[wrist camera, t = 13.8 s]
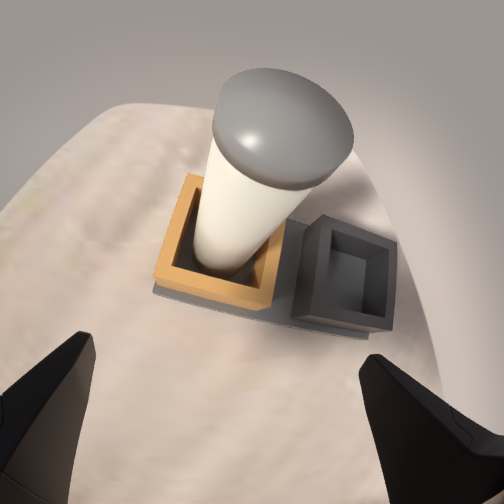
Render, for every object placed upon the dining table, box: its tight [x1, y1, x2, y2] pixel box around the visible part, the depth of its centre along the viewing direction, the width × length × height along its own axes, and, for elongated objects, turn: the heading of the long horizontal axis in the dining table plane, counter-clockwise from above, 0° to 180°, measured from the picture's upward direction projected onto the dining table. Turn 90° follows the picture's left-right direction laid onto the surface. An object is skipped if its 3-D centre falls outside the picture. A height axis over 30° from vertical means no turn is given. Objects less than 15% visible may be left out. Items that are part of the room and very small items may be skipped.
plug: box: [192, 68, 354, 278], centre depth 13 cm, size 4×4×13 cm
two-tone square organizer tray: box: [153, 173, 397, 340], centre depth 19 cm, size 16×8×4 cm, turn 78°
